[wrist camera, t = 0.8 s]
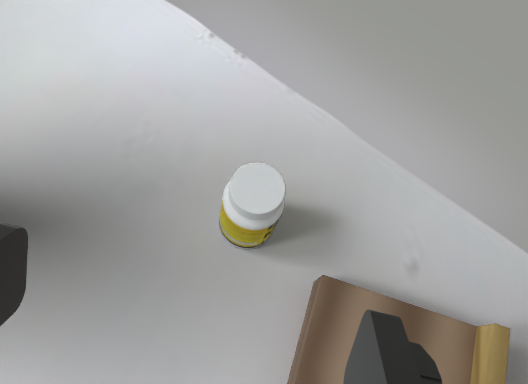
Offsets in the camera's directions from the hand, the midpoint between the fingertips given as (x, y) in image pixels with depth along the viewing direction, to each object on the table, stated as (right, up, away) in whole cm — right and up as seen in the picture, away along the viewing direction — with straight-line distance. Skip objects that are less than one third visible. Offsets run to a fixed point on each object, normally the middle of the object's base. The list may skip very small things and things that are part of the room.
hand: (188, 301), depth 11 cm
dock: (+11, -12, +27) cm, 31 cm away
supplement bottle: (0, 0, +30) cm, 30 cm away
